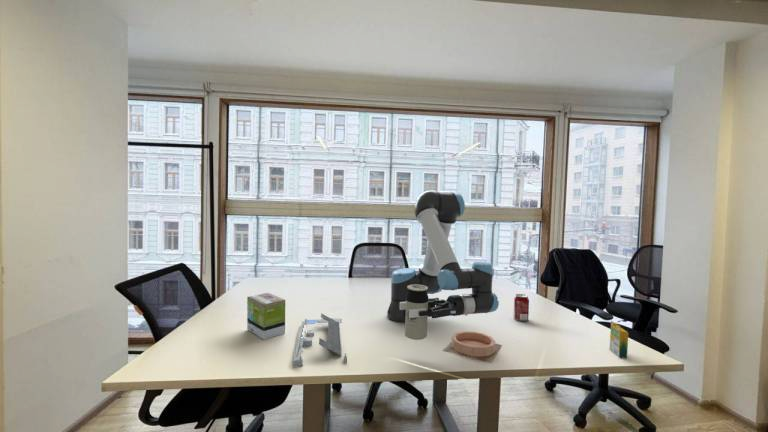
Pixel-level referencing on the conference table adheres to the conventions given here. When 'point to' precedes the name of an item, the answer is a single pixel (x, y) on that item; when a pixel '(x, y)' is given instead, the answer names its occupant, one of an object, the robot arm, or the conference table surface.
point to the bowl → (473, 344)
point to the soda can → (521, 307)
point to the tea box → (266, 315)
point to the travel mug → (416, 300)
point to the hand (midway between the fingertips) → (404, 309)
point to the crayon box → (618, 340)
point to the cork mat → (487, 358)
